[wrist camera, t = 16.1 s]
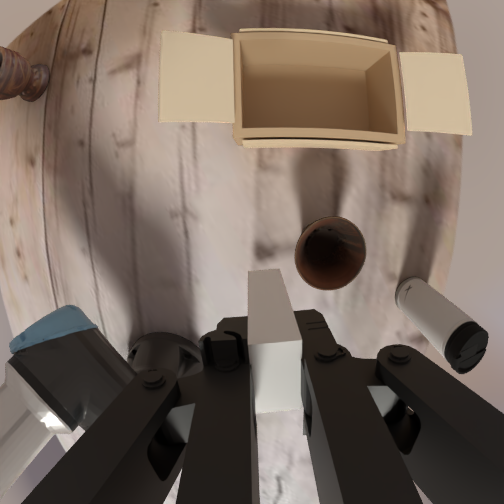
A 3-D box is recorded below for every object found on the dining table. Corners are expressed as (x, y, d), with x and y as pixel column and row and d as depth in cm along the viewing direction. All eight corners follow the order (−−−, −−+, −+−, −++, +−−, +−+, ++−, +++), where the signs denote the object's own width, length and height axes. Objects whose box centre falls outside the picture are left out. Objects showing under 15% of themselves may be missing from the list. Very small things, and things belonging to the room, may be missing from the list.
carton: (238, 150, 41) (233, 143, 31) (235, 57, 37) (230, 28, 27) (374, 152, 40) (405, 149, 31) (368, 63, 36) (395, 41, 27)
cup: (286, 278, 45) (298, 296, 35) (282, 218, 44) (293, 219, 34) (343, 272, 45) (368, 288, 35) (340, 213, 44) (365, 214, 34)
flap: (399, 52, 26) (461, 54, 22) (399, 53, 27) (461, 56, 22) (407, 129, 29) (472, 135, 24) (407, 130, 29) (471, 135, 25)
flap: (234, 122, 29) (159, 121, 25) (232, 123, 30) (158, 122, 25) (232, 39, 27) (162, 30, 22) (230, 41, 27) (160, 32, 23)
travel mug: (392, 281, 45) (457, 344, 26) (425, 272, 45) (497, 325, 26) (393, 314, 47) (450, 384, 28) (424, 305, 47) (488, 365, 27)
